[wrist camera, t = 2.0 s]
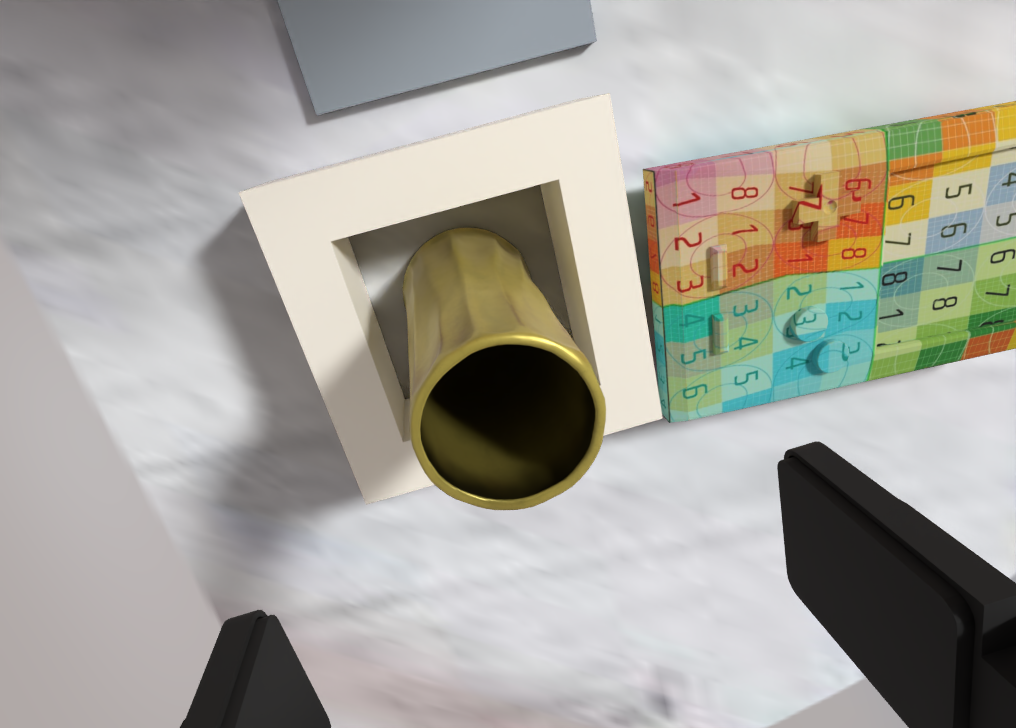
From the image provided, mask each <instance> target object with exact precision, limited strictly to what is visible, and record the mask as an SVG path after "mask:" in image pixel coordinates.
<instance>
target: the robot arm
mask: <svg viewBox="0 0 1016 728" xmlns="http://www.w3.org/2000/svg"><path fill="white" fill-rule="evenodd" d="M778 479H779V490H780V501H781V512H782V523H783V534H784V545H785V556H786V566H787V575H788V579H789V582H790V584H791V587H792V588H793V590H794V592H795V593H796V595H797V596H798V597H799V598H800V600H801V601H802V602H803V603H804V604H805V605H806V607H807V608H808V609H809V610H810V611H811V613H812V614H813V615H814V616H815V617H816V618H817V620H818V621H819V622H820V623H821V624H822V626H823V627H824V628H825V629H826V630H827V631H828V633H829V634H830V635H831V636H832V637H833V639H834V640H835V641H836V642H837V643H838V644H839V646H840V647H841V648H842V649H843V650H844V652H845V653H846V654H847V655H848V656H849V658H850V659H851V660H852V661H853V662H854V663H855V665H856V666H857V667H858V668H859V669H860V671H861V672H862V673H863V674H864V675H865V676H866V678H867V679H868V680H869V681H870V682H871V684H872V685H873V686H874V687H875V688H876V689H877V690H878V692H879V693H880V694H881V695H882V697H883V698H884V699H885V700H886V701H887V702H888V704H889V705H890V706H891V707H892V708H893V710H894V711H895V712H896V713H897V714H898V715H899V717H900V718H901V719H902V720H903V721H904V722H905V724H906V725H907V726H908V727H909V728H1016V583H1015V582H1013V581H1012V580H1011V579H1009V578H1008V577H1007V576H1005V575H1004V574H1002V573H1001V572H1000V571H998V570H997V569H996V568H994V567H993V566H992V565H990V564H989V563H987V562H986V561H985V560H983V559H982V558H981V557H979V556H978V555H976V554H975V553H974V552H972V551H971V550H970V549H968V548H967V547H966V546H964V545H963V544H961V543H960V542H959V541H957V540H956V539H955V538H953V537H952V536H951V535H949V534H948V533H946V532H945V531H944V530H942V529H941V528H940V527H938V526H937V525H936V524H934V523H933V522H931V521H930V520H929V519H927V518H926V517H925V516H923V515H922V514H921V513H919V512H918V511H916V510H915V509H914V508H912V507H911V506H910V505H908V504H907V503H905V502H903V501H901V500H900V499H898V498H896V497H895V496H894V495H892V494H891V493H890V492H888V491H887V490H885V489H884V488H883V487H881V486H880V485H879V484H877V483H876V482H875V481H873V480H872V479H871V478H869V477H868V476H866V475H865V474H864V473H862V472H861V471H860V470H858V469H857V468H856V467H854V466H853V465H852V464H850V463H849V462H847V461H846V460H845V459H843V458H842V457H841V456H839V455H838V454H837V453H835V452H834V451H832V450H831V449H830V448H828V447H827V446H826V445H824V444H823V443H821V442H812V443H809V444H806V445H803V446H799V447H796V448H793V449H789V450H787V451H786V452H785V455H784V460H781V461H779V462H778ZM180 728H331V724H330V721H329V718H328V716H327V714H326V712H325V710H324V708H323V706H322V704H321V702H320V700H319V698H318V696H317V694H316V692H315V690H314V688H313V686H312V684H311V682H310V681H309V679H308V677H307V675H306V673H305V671H304V669H303V667H302V665H301V663H300V661H299V659H298V657H297V655H296V653H295V651H294V649H293V647H292V645H291V643H290V641H289V639H288V637H287V636H286V634H285V632H284V630H283V628H282V626H281V624H280V622H279V620H278V618H277V617H276V616H275V615H270V616H267V615H266V613H265V612H263V611H262V610H257V611H253V612H250V613H247V614H243V615H240V616H237V617H233V618H230V619H228V620H226V621H225V622H224V624H223V626H222V628H221V631H220V633H219V636H218V638H217V641H216V644H215V646H214V648H213V651H212V654H211V656H210V659H209V661H208V664H207V666H206V669H205V671H204V674H203V676H202V679H201V681H200V684H199V687H198V689H197V692H196V694H195V697H194V699H193V702H192V704H191V707H190V709H189V712H188V714H187V717H186V719H185V720H184V721H183V723H182V725H181V726H180Z"/></svg>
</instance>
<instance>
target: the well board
mask: <svg viewBox="0 0 1016 728" xmlns="http://www.w3.org/2000/svg"><path fill="white" fill-rule="evenodd" d="M536 185H540V187H541V191H542V196H543V201H544V205H545V210H546V215H547V219H548V224H549V228H550V233H551V238H552V242H553V247H554V252H555V256H556V261H557V265H558V270H559V275H560V279H561V284H562V289H563V293H564V298H565V302H566V307H567V312H568V316H569V321H570V326H571V330H572V335H573V340H574V342H575V344H576V345H577V347H578V348H579V349H580V350H581V352H582V353H583V354H584V355H585V357H586V358H587V359H588V361H589V362H590V364H591V365H592V368H593V370H594V373H595V375H596V378H597V380H598V383H599V385H600V388H601V390H602V393H603V395H604V397H605V403H606V422H605V429H604V435H608V434H611V433H615V432H618V431H621V430H625V429H628V428H632V427H635V426H639V425H642V424H645V423H649V422H652V421H656V420H659V419H663V417H662V411H661V405H660V399H659V393H658V387H657V380H656V374H655V368H654V362H653V356H652V350H651V343H650V337H649V331H648V325H647V319H646V313H645V306H644V300H643V294H642V288H641V282H640V276H639V270H638V263H637V257H636V251H635V245H634V239H633V233H632V226H631V220H630V214H629V208H628V202H627V196H626V190H625V183H624V177H623V171H622V165H621V159H620V153H619V146H618V140H617V134H616V128H615V122H614V116H613V109H612V103H611V97H610V93H608V94H603V95H597V96H592V97H586V98H581V99H577V100H573V101H569V102H565V103H562V104H558V105H554V106H550V107H547V108H543V109H539V110H535V111H532V112H528V113H524V114H520V115H517V116H513V117H509V118H506V119H502V120H498V121H494V122H491V123H487V124H483V125H479V126H476V127H472V128H468V129H464V130H461V131H457V132H453V133H449V134H446V135H442V136H438V137H434V138H431V139H427V140H423V141H420V142H416V143H412V144H408V145H405V146H401V147H397V148H393V149H390V150H386V151H382V152H378V153H375V154H371V155H367V156H363V157H360V158H356V159H352V160H348V161H345V162H341V163H337V164H333V165H330V166H326V167H322V168H319V169H315V170H311V171H307V172H304V173H300V174H296V175H292V176H289V177H285V178H281V179H277V180H274V181H270V182H266V183H264V184H261V185H258V186H255V187H253V188H250V189H247V190H244V191H242V192H239V195H240V197H241V200H242V202H243V205H244V207H245V209H246V212H247V214H248V217H249V219H250V222H251V224H252V227H253V229H254V231H255V234H256V236H257V239H258V241H259V244H260V246H261V249H262V251H263V253H264V256H265V258H266V261H267V263H268V266H269V268H270V271H271V273H272V276H273V278H274V280H275V283H276V285H277V288H278V290H279V293H280V295H281V298H282V300H283V302H284V305H285V307H286V310H287V312H288V315H289V317H290V320H291V322H292V324H293V327H294V329H295V332H296V334H297V337H298V339H299V342H300V344H301V347H302V349H303V351H304V354H305V356H306V359H307V361H308V364H309V366H310V369H311V371H312V373H313V376H314V378H315V381H316V383H317V386H318V388H319V391H320V393H321V395H322V398H323V400H324V403H325V405H326V408H327V410H328V413H329V415H330V418H331V420H332V422H333V425H334V427H335V430H336V432H337V435H338V437H339V440H340V442H341V444H342V447H343V449H344V452H345V454H346V457H347V459H348V462H349V464H350V466H351V469H352V471H353V474H354V476H355V479H356V481H357V484H358V486H359V488H360V491H361V493H362V496H363V498H364V501H365V503H366V505H367V504H370V503H374V502H377V501H381V500H384V499H388V498H391V497H394V496H398V495H401V494H405V493H408V492H412V491H415V490H418V489H422V488H425V487H429V486H432V485H435V484H433V483H432V482H431V481H430V479H429V478H428V477H427V475H426V474H425V472H424V471H423V469H422V467H421V465H420V463H419V461H418V459H417V457H416V454H415V452H414V450H413V447H412V443H411V439H410V430H409V414H410V398H408V399H405V398H404V396H403V393H402V390H401V387H400V384H399V381H398V378H397V375H396V373H395V370H394V367H393V364H392V361H391V358H390V355H389V352H388V350H387V347H386V344H385V341H384V338H383V335H382V332H381V330H380V327H379V324H378V321H377V318H376V315H375V312H374V309H373V307H372V304H371V301H370V298H369V295H368V292H367V289H366V287H365V284H364V281H363V278H362V275H361V272H360V269H359V266H358V264H357V261H356V258H355V255H354V252H353V249H352V246H351V244H350V241H349V238H348V237H349V236H353V235H356V234H360V233H364V232H367V231H371V230H375V229H378V228H382V227H386V226H389V225H393V224H397V223H400V222H404V221H408V220H411V219H415V218H419V217H422V216H426V215H430V214H433V213H437V212H441V211H444V210H448V209H452V208H455V207H459V206H463V205H466V204H470V203H474V202H477V201H481V200H485V199H488V198H492V197H496V196H499V195H503V194H507V193H510V192H514V191H518V190H521V189H525V188H529V187H532V186H536ZM604 435H603V436H604Z"/></svg>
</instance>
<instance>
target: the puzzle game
mask: <svg viewBox="0 0 1016 728" xmlns="http://www.w3.org/2000/svg"><path fill="white" fill-rule="evenodd" d="M643 179H644V193H645V208H646V222H647V236H648V250H649V264H650V279H651V293H652V307H653V321H654V335H655V350H656V364H657V378H658V392H659V399H660V405H661V411H662V415H663V416H664V417H665V418H666V419H667V421H668V422H669V423H670V422H680V421H689V420H693V419H698V418H703V417H707V416H712V415H716V414H721V413H725V412H730V411H734V410H739V409H743V408H748V407H752V406H757V405H761V404H766V403H771V402H775V401H780V400H784V399H789V398H793V397H798V396H802V395H807V394H811V393H816V392H820V391H825V390H829V389H834V388H839V387H843V386H848V385H852V384H857V383H861V382H866V381H870V380H875V379H879V378H884V377H888V376H893V375H897V374H902V373H907V372H911V371H916V370H920V369H925V368H929V367H934V366H938V365H943V364H947V363H952V362H956V361H961V360H965V359H970V358H975V357H979V356H984V355H988V354H993V353H997V352H1002V351H1006V350H1011V349H1015V348H1016V101H1013V102H1008V103H1002V104H997V105H991V106H986V107H980V108H975V109H969V110H964V111H959V112H953V113H948V114H942V115H937V116H931V117H926V118H920V119H915V120H909V121H904V122H898V123H893V124H887V125H882V126H876V127H871V128H866V129H860V130H855V131H849V132H844V133H838V134H833V135H827V136H822V137H816V138H811V139H805V140H800V141H794V142H789V143H784V144H778V145H773V146H767V147H762V148H756V149H751V150H745V151H740V152H734V153H729V154H723V155H718V156H712V157H707V158H701V159H696V160H691V161H685V162H680V163H674V164H669V165H663V166H658V167H652V168H647V169H643Z"/></svg>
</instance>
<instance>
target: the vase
mask: <svg viewBox="0 0 1016 728" xmlns="http://www.w3.org/2000/svg"><path fill="white" fill-rule="evenodd" d="M402 289H403V300H404V305H405V309H406V312H407V329H408V358H409V375H410V414H409V430H410V439H411V443H412V447H413V450H414V452H415V454H416V457H417V459H418V461H419V463H420V465H421V467H422V469H423V471H424V472H425V474H426V475H427V477H428V478H429V479H430V481H431V482H432V483H433V484H435V485H436V486H437V487H438V488H439V489H440V490H442V491H443V492H445V493H446V494H447V495H449V496H451V497H453V498H455V499H457V500H460V501H462V502H465V503H468V504H471V505H474V506H477V507H481V508H485V509H492V510H518V509H525V508H529V507H533V506H536V505H538V504H541V503H543V502H545V501H547V500H549V499H551V498H553V497H555V496H557V495H559V494H561V493H563V492H564V491H566V490H568V489H569V488H571V487H572V486H573V485H574V484H575V483H576V482H578V481H579V480H580V479H581V477H582V476H583V475H584V474H585V473H586V472H587V470H588V469H589V467H590V466H591V465H592V463H593V462H594V460H595V458H596V456H597V454H598V452H599V450H600V447H601V444H602V441H603V435H604V429H605V422H606V403H605V397H604V395H603V393H602V390H601V388H600V385H599V383H598V380H597V378H596V375H595V373H594V370H593V368H592V365H591V364H590V362H589V361H588V359H587V358H586V357H585V355H584V354H583V353H582V352H581V350H580V349H579V348H578V347H577V345H576V344H575V342H574V341H573V340H572V338H571V337H570V335H569V334H568V332H567V331H566V330H565V328H564V327H563V326H562V324H561V323H560V322H559V321H558V319H557V318H556V316H555V315H554V313H553V312H552V310H551V308H550V306H549V304H548V302H547V301H546V299H545V297H544V296H543V294H542V293H541V291H540V290H539V289H538V287H537V286H536V285H535V284H534V283H533V282H532V281H531V277H530V273H529V271H528V268H527V265H526V263H525V261H524V259H523V257H522V255H521V254H520V252H519V251H518V250H517V249H516V248H515V247H514V246H513V245H512V244H511V243H509V242H508V241H507V240H505V239H504V238H502V237H500V236H498V235H497V234H495V233H493V232H490V231H488V230H484V229H478V228H456V229H451V230H448V231H445V232H442V233H440V234H438V235H436V236H435V237H433V238H431V239H430V240H429V241H427V242H426V243H425V244H424V245H422V246H421V247H420V248H419V249H418V251H417V252H416V253H415V255H414V256H413V258H412V259H411V261H410V263H409V265H408V267H407V270H406V273H405V276H404V281H403V287H402Z"/></svg>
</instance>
